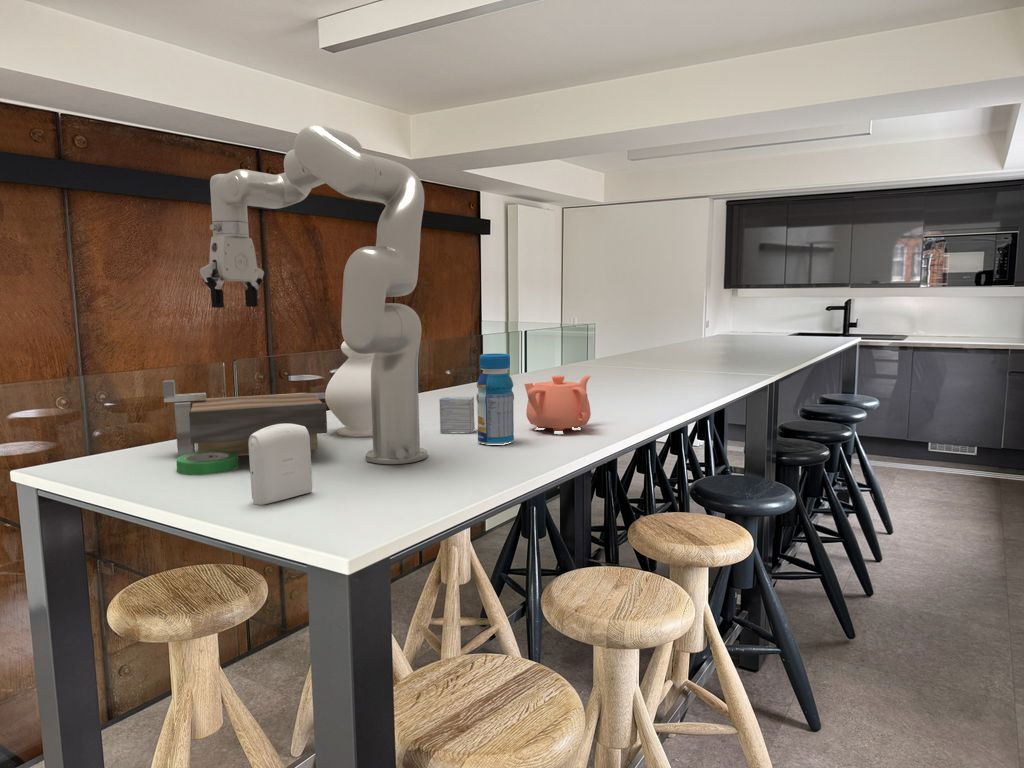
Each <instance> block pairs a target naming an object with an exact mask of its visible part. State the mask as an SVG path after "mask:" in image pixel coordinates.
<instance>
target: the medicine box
mask: <svg viewBox="0 0 1024 768" xmlns="http://www.w3.org/2000/svg"><path fill="white" fill-rule="evenodd" d="M475 425H476V424H475V397H474V396H473V395H445V396H440V398H439V427H440V429H439V431H440V432H472V431H473V430H474V429H475V428H476V426H475ZM474 431H475V430H474ZM474 431H473V432H474Z"/></svg>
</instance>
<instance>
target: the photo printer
mask: <svg viewBox="0 0 1024 768" xmlns="http://www.w3.org/2000/svg"><path fill="white" fill-rule="evenodd" d="M248 447H249V455H248V458H249V460H248V461H249V472H250V475H249V477H250V487H251V488H250V490H251V499H252V502H253V504H255V505H259V506H264V505H267V504H272V503H277V502H279V501H284V500H287V499H290V498H294V497H298V496H301V495H306V494H309V493H312V491H313V475H312V474H313V473H312V458H311V450H310V438H309V433H308V430H307V429H306V427H305V426H301V425H297V424H276V425H272V426H268V427H265V428H263V429H261V430H258V431H257V432H255V433H253V434H252V435H251V436H250V437H249V442H248Z"/></svg>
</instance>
